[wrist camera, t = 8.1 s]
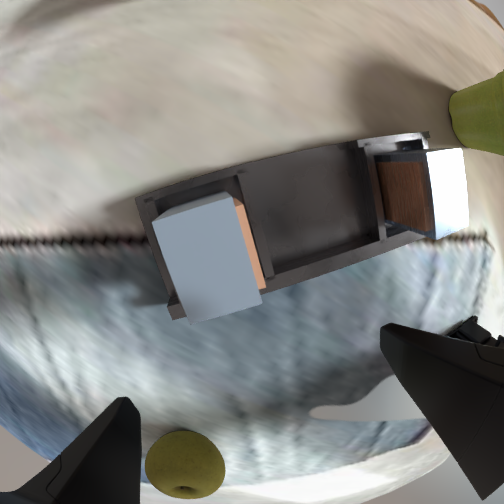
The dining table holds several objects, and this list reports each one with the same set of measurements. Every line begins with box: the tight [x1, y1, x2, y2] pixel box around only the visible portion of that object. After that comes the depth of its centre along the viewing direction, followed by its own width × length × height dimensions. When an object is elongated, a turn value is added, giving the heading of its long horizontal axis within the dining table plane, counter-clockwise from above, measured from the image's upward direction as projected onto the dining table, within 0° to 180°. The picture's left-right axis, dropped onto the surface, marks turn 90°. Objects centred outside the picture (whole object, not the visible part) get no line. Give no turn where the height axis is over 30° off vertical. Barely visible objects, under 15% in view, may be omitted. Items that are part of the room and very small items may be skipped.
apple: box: [145, 431, 225, 499], centre depth 20 cm, size 8×8×7 cm
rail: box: [135, 131, 469, 320], centre depth 16 cm, size 8×22×7 cm, turn 104°
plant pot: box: [449, 70, 504, 156], centre depth 15 cm, size 9×9×9 cm
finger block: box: [152, 190, 266, 325], centre depth 15 cm, size 5×4×6 cm
